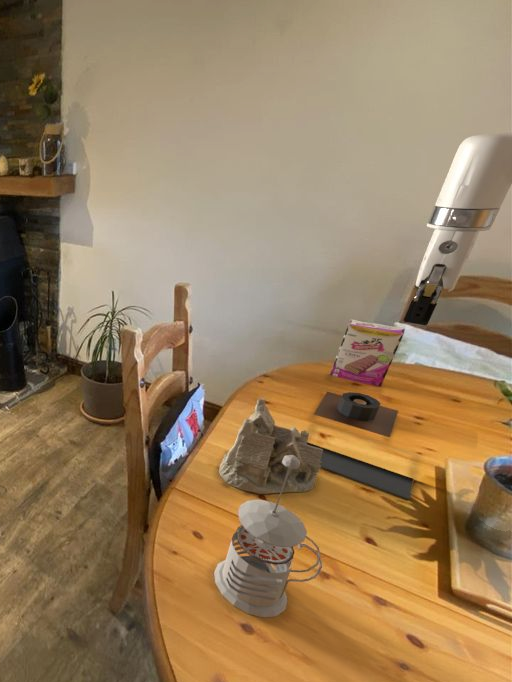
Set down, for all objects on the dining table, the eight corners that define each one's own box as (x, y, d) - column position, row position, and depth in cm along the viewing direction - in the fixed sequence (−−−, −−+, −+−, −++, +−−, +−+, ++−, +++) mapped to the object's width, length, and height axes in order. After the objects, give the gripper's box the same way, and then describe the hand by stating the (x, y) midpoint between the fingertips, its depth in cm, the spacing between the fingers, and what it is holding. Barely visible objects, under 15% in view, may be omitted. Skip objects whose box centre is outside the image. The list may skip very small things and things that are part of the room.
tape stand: (396, 414, 99) (403, 399, 97) (388, 441, 91) (395, 426, 89) (325, 395, 108) (330, 381, 106) (312, 418, 100) (317, 403, 98)
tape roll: (377, 411, 99) (382, 398, 97) (372, 424, 95) (377, 411, 93) (340, 401, 103) (345, 389, 102) (334, 413, 99) (339, 400, 98)
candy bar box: (328, 379, 115) (347, 324, 108) (331, 372, 119) (349, 318, 111) (380, 391, 108) (404, 333, 101) (382, 383, 112) (405, 327, 104)
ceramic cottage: (207, 473, 85) (228, 412, 78) (240, 440, 94) (261, 384, 87) (293, 519, 75) (325, 454, 68) (320, 477, 84) (351, 417, 77)
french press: (217, 549, 69) (249, 426, 58) (300, 578, 64) (354, 449, 52) (210, 598, 62) (246, 468, 50) (304, 636, 56) (368, 500, 45)
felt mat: (418, 453, 87) (419, 452, 87) (408, 500, 76) (409, 499, 76) (315, 421, 99) (316, 420, 98) (294, 458, 88) (295, 456, 88)
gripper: (493, 227, 61) (442, 334, 69) (494, 213, 71) (449, 307, 79) (424, 224, 66) (383, 324, 74) (434, 211, 76) (398, 300, 84)
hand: (418, 315), depth 77 cm, fingers open, 9 cm apart
